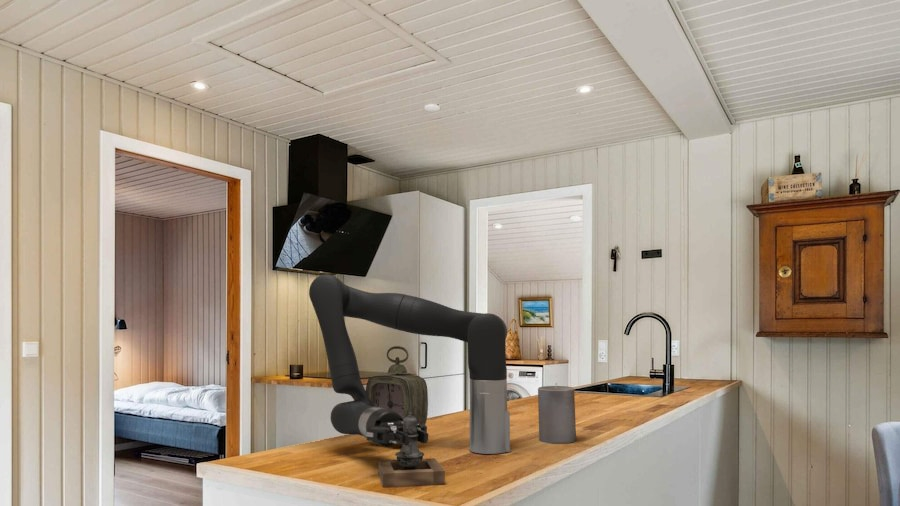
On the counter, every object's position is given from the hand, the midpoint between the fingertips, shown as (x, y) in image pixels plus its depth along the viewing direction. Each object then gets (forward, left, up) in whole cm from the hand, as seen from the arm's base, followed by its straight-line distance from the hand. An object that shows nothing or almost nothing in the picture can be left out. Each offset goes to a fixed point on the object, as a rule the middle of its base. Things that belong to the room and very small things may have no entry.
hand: (416, 438), depth 131 cm
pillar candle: (-42, -37, -8) cm, 56 cm away
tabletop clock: (0, -38, -8) cm, 38 cm away
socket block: (+1, -3, -8) cm, 9 cm away
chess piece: (+1, -3, -7) cm, 8 cm away
